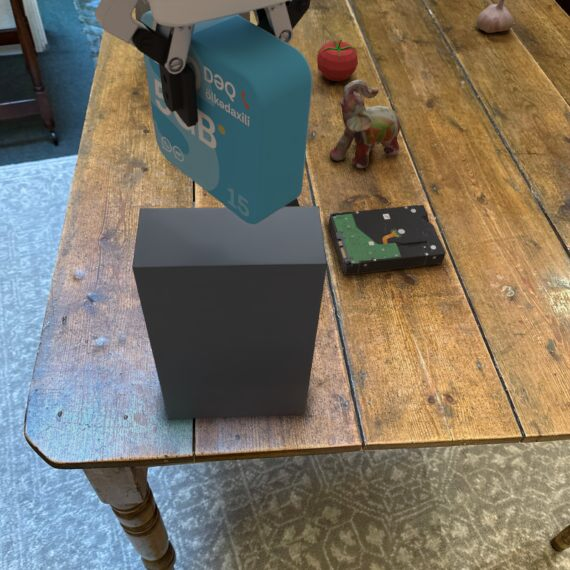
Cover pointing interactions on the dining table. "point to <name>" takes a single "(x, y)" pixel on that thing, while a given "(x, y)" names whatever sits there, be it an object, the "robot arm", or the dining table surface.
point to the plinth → (231, 308)
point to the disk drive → (385, 239)
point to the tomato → (337, 60)
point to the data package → (239, 116)
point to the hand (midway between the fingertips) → (224, 100)
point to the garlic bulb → (495, 18)
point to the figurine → (365, 125)
